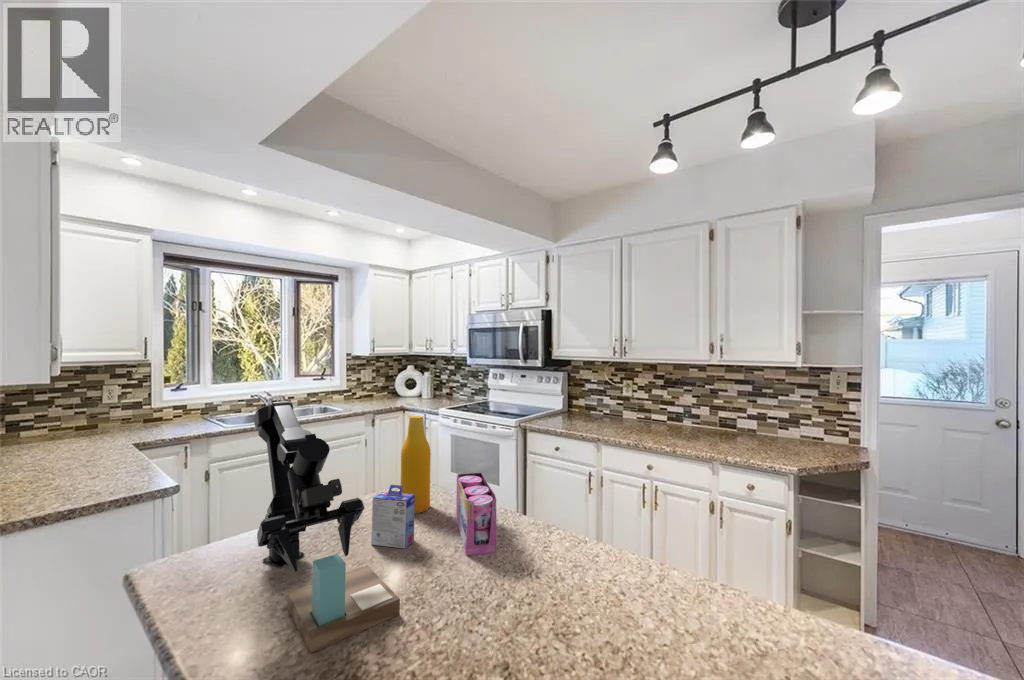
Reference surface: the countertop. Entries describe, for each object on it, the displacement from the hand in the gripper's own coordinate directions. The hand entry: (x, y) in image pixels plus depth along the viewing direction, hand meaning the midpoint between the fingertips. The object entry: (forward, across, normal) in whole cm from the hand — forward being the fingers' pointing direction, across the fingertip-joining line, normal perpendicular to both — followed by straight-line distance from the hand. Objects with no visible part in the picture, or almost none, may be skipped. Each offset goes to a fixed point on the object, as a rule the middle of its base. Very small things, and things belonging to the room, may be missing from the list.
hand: (322, 562), depth 79 cm
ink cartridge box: (-7, +24, +22) cm, 33 cm away
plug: (+10, 0, +5) cm, 11 cm away
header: (+7, +4, +8) cm, 11 cm away
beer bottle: (-19, +39, +34) cm, 55 cm away
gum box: (0, +43, +15) cm, 46 cm away
